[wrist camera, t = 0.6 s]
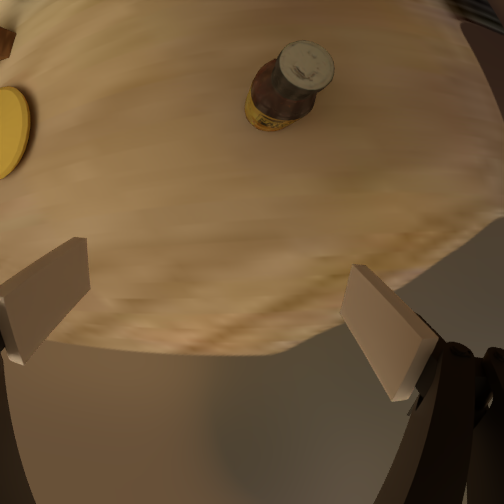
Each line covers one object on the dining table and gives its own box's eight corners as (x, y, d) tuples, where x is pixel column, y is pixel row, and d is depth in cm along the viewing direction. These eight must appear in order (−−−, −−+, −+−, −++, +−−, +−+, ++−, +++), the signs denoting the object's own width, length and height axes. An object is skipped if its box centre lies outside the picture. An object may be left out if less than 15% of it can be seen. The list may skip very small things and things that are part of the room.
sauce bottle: (252, 138, 37) (269, 118, 18) (238, 95, 35) (240, 38, 16) (299, 125, 37) (358, 99, 18) (285, 83, 35) (329, 23, 16)
